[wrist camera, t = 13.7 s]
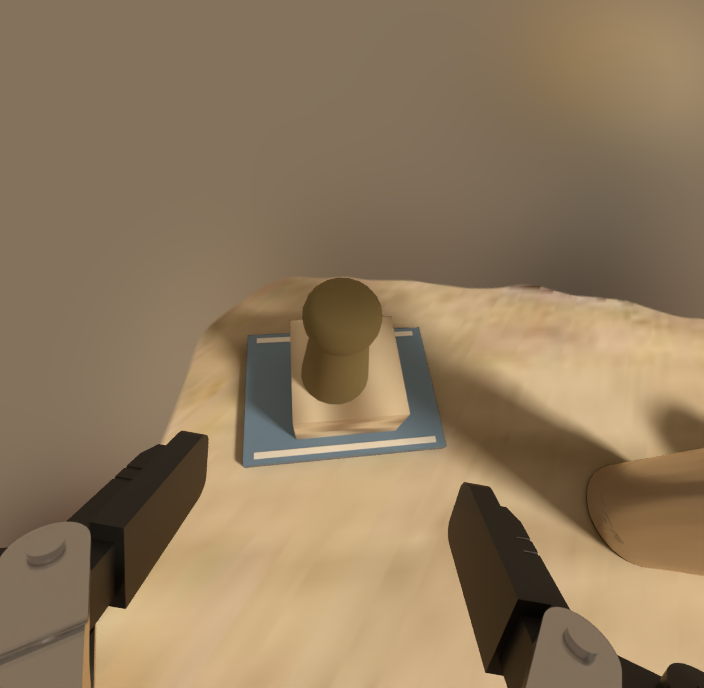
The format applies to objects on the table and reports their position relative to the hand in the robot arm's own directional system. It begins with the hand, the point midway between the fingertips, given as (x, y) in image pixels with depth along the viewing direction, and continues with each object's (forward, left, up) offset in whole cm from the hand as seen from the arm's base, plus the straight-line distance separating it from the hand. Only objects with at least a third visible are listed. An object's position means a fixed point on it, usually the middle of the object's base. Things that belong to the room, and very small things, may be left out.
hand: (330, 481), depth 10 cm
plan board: (-3, -11, -24) cm, 26 cm away
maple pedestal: (-3, -11, -22) cm, 25 cm away
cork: (-2, -11, -17) cm, 20 cm away
